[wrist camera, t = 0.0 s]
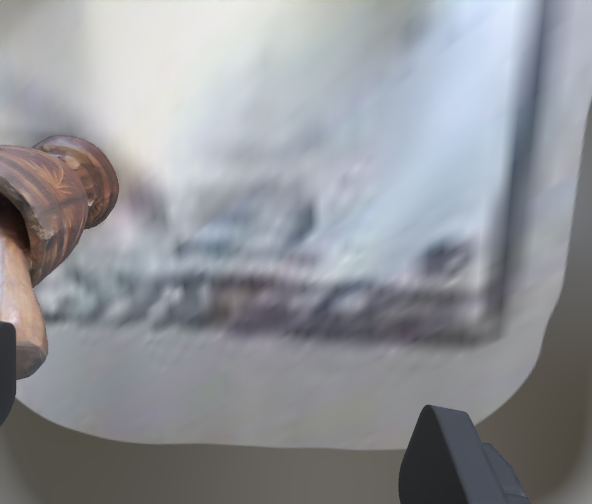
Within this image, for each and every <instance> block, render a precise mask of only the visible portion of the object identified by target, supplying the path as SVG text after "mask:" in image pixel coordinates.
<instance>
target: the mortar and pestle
mask: <svg viewBox="0 0 592 504" xmlns="http://www.w3.org/2000/svg"><path fill="white" fill-rule="evenodd" d="M118 192H119V184H118V179H117V176H116V173H115V171H114V169H113V167H112V165H111V164H110V162H109V160H108V159H107V157H106V156H105V155H104V154H103V153H102V151H101V150H100V149H99V148H97V147H96V146H95V145H93V144H92V143H90V142H88V141H86V140H84V139H80V138H76V137H70V136H52V137H48V138H46V139H45V140H43V141H41V142H40V143H38V144H37V145H35V146H33V147H32V148H26V147H21V146H10V145H0V321H4V322H9V323H12V324H13V325H14V327H15V329H16V380H19V379H23V378H27V377H29V376H31V375H32V374H33V373H35V372H36V371H37V369H38V368H39V367H40V366H41V365H42V364H43V363H44V362H45V360H46V357H47V355H48V341H47V335H46V327H45V322H44V318H43V315H42V311H41V308H40V305H39V303H38V300H37V297H36V295H35V293H34V290H33V288H34V287H35V286H36V285H37V284H39V283H40V282H41V281H42V280H43V279H44V278H45V277H46V276H47V275H48V274H50V273H51V272H52V271H53V270H54V269H55V268H56V267H58V266H59V265H60V264H61V263H62V262H63V261H64V260H65V259H66V258H67V257H68V256H69V255H70V253H71V252H72V250H73V249H74V247H75V246H76V245H77V244H78V241H79V239H80V237H81V235H82V232H83V230H84V229H89V228H91V227H95V226H97V225H98V224H100V223H101V222H103V221H104V220H105V219H106V217H107V216H108V215H109V213H110V212H111V210H112V209H113V208H114V206H115V203H116V201H117V197H118Z"/></svg>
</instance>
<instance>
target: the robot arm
mask: <svg viewBox="0 0 592 504" xmlns="http://www.w3.org/2000/svg"><path fill="white" fill-rule="evenodd" d="M15 395H16V329H15V327H14V325H13V324H12V323H9V322H4V321H0V426H1V425H2V424H3V422H4V421H5V419H6V417H7V416H8V414H9V412H10V410H11V408H12V405H13V402H14V399H15ZM524 493H525V491H524V490H523V488H522V486H521V484H520V482H519V480H518V478H517V476H516V474H515V472H514V470H513V468H512V467H511V466H510V464H509V463H508V462H507V461H506V460H505V459H504V458H503V457H502V456H501V455H500V454H499V453H498V451H497V450H496V449H495V448H494V447H493V446H492V445H491V444H489V443H483V442H481V440H480V438H479V436H478V434H477V432H476V430H475V427H474V425H473V423H472V421H471V419H470V417H469V415H468V414H467V413H466V412H463V411H458V410H453V409H448V408H443V407H438V406H432V405H426V406H425V407H424V408H423V409H422V411H421V413H420V416H419V418H418V421H417V423H416V426H415V429H414V431H413V434H412V437H411V439H410V442H409V445H408V447H407V450H406V453H405V455H404V458H403V461H402V464H401V467H400V472H399V498H400V502H401V504H531V503H530V501H529V499H528V497H525V496H524Z"/></svg>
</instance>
